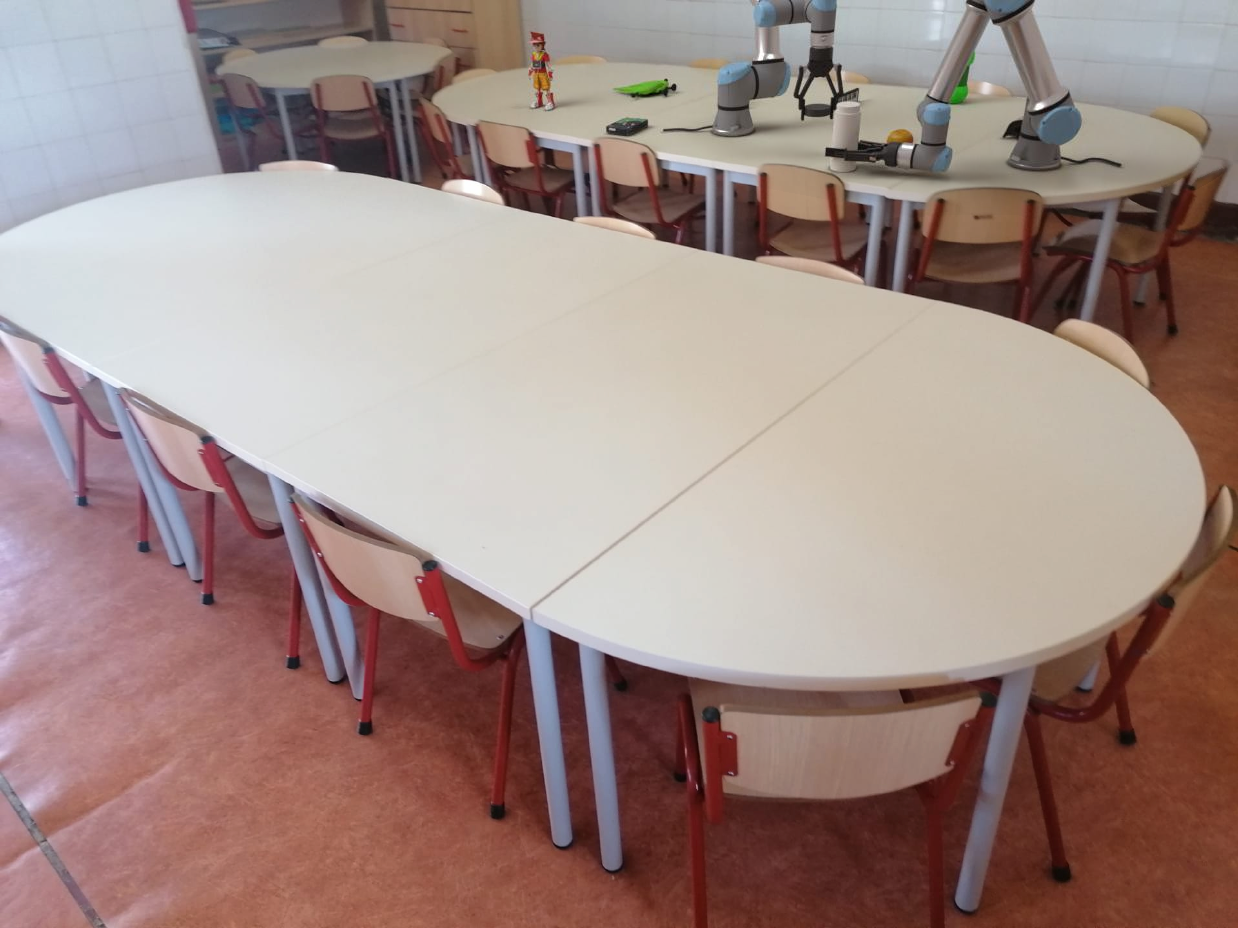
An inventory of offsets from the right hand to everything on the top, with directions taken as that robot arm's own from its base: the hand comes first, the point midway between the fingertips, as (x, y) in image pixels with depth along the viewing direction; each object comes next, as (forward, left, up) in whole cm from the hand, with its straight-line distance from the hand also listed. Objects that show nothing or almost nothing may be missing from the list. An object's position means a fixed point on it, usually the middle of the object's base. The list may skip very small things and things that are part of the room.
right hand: (830, 148), depth 292 cm
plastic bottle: (-56, -81, -6) cm, 98 cm away
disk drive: (+72, -52, -6) cm, 89 cm away
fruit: (-25, -15, -6) cm, 30 cm away
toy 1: (+112, -92, -6) cm, 145 cm away
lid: (+4, -15, +9) cm, 18 cm away
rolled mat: (-75, -37, -6) cm, 84 cm away
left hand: (+4, -15, +5) cm, 16 cm away
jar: (-4, +2, -6) cm, 8 cm away
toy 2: (+71, -115, -6) cm, 136 cm away
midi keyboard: (-14, -80, -6) cm, 81 cm away
